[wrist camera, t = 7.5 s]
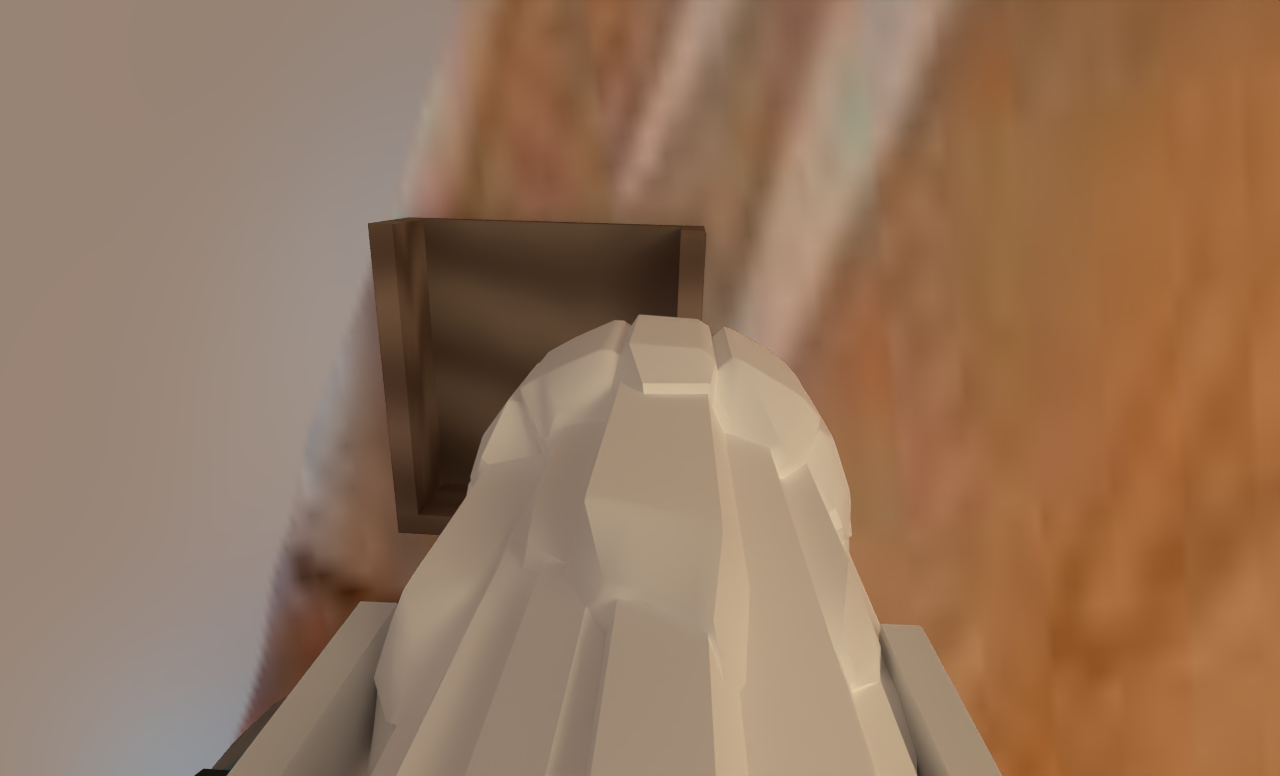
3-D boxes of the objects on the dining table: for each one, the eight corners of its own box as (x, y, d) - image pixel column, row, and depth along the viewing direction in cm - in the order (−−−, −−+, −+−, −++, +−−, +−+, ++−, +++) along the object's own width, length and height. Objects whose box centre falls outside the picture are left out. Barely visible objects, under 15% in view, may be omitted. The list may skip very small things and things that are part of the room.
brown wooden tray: (409, 217, 37) (367, 223, 32) (703, 226, 36) (706, 233, 31) (431, 492, 42) (398, 532, 37) (688, 506, 41) (689, 549, 36)
